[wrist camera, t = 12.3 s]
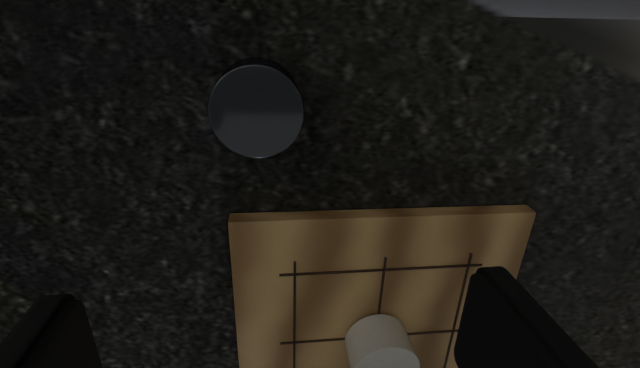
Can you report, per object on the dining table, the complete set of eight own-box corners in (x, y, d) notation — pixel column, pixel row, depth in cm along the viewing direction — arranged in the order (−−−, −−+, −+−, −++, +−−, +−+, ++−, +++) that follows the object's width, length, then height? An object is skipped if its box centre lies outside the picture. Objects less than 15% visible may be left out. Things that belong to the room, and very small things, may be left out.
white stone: (409, 311, 27) (425, 345, 24) (401, 358, 29) (415, 393, 26) (346, 315, 27) (355, 350, 24) (342, 363, 28) (350, 399, 26)
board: (525, 204, 26) (538, 213, 25) (469, 400, 34) (476, 414, 33) (229, 213, 24) (227, 223, 22) (245, 422, 32) (244, 438, 31)
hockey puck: (300, 58, 20) (304, 65, 18) (299, 140, 22) (303, 158, 20) (212, 56, 20) (202, 63, 17) (218, 140, 22) (211, 159, 19)
